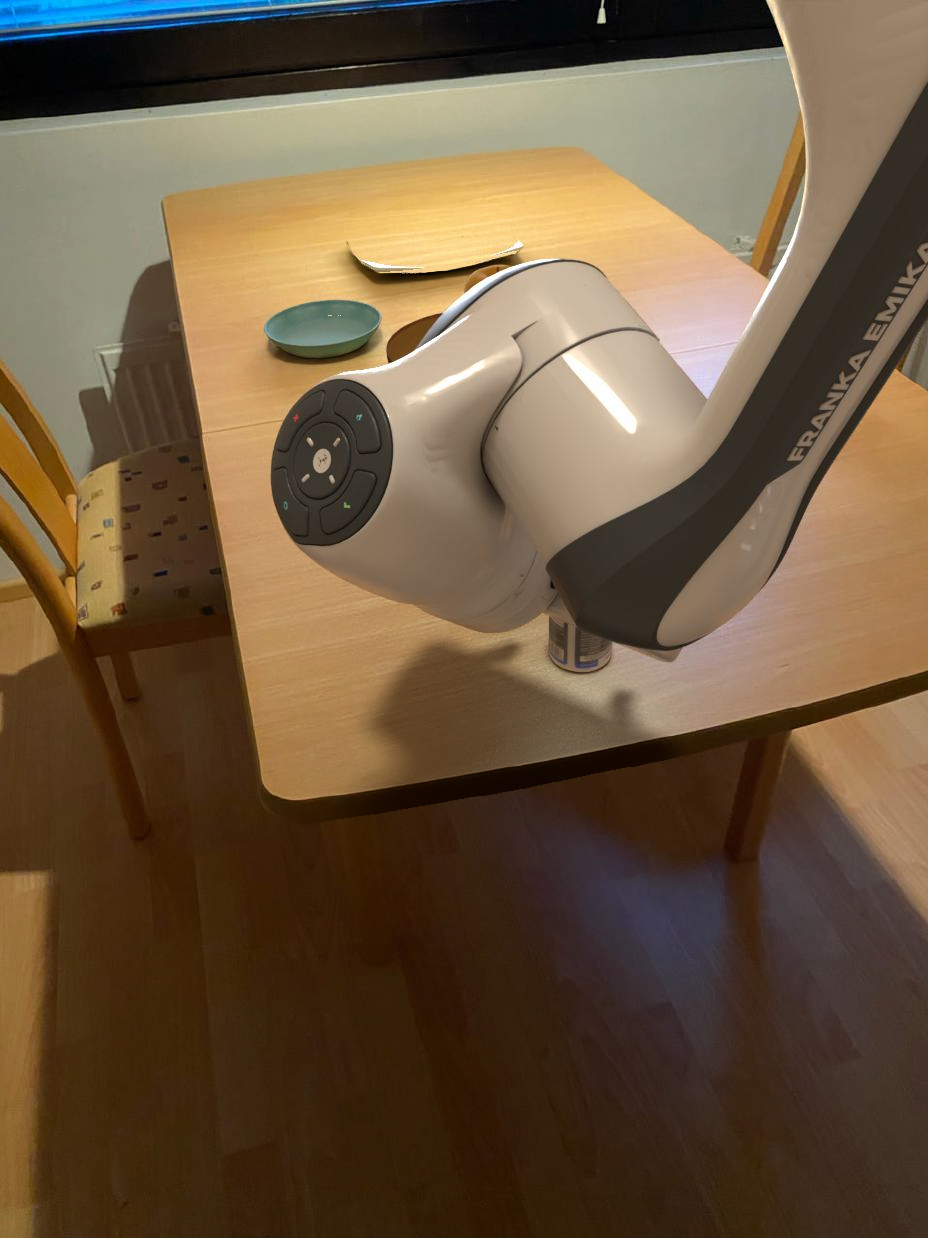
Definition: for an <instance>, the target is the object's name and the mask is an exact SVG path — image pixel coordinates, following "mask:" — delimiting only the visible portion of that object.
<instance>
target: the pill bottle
mask: <svg viewBox="0 0 928 1238" xmlns="http://www.w3.org/2000/svg"><path fill="white" fill-rule="evenodd" d="M612 651H613V642H612V641H609V640H606V639H603V638H600V637H597V636H594V635H591V634H589V633H586V632H584V631H581V630H580V629H578V628H577V627H575V626H572V625H570V624H567V623H565V622H562V621H560V620H558V619H555V618H553V617H550V616H548V654H549V657H550V659H551V660H552V661H553V663H554V664H555V665H557V666H558V667H560V668H562V669H564V670H566V671H571V672H577V673H588V672H593V671H596V670H598V669H600V668H603V667H604V666H605V665H606V664H607V663H608V662H609V660H610V659H611V656H612Z"/></svg>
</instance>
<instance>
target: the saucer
mask: <svg viewBox="0 0 928 1238" xmlns="http://www.w3.org/2000/svg"><path fill="white" fill-rule="evenodd" d="M328 315H332V316H328ZM338 315H339V316H338ZM340 315H341V316H340ZM382 320H383V317H382V313H381V311H380V310H379V309H377V308H376V307H375V306H374V305H371V304H369V303H366V302H362V301H358V300H351V299H322V300H321V299H320V300H315V301H308V302H304V303H300V304H296V305H293V306H289V307H287V308H285V309H282V310H281V311H278V312H277V313H275V314H273V315H272V316H270V317H269V318H268V319H267V320H266V321H265V323H264V326H263V332H264V334H265V335H266V336H267V338H268V339H269V340H270V341H271V342H272V343H273V344H275V346H277V347H279V348H280V349H282V350H283V351H285V352H287V353H288V354H291V355H293V356H297V357H301V358H305V359H306V358H307V359H325V358H334V357H339V356H342V355H346V354H350V353H351V352H353V351H356V350H359V349H360V348H361V347H362V346H364V345H365V344H366V343H367V342H368V341H369V340H370V339H371V338H372V337H373V336H374V334H375V333H376V332H377V330H378V328H379V327H380V325H381V323H382Z"/></svg>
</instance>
